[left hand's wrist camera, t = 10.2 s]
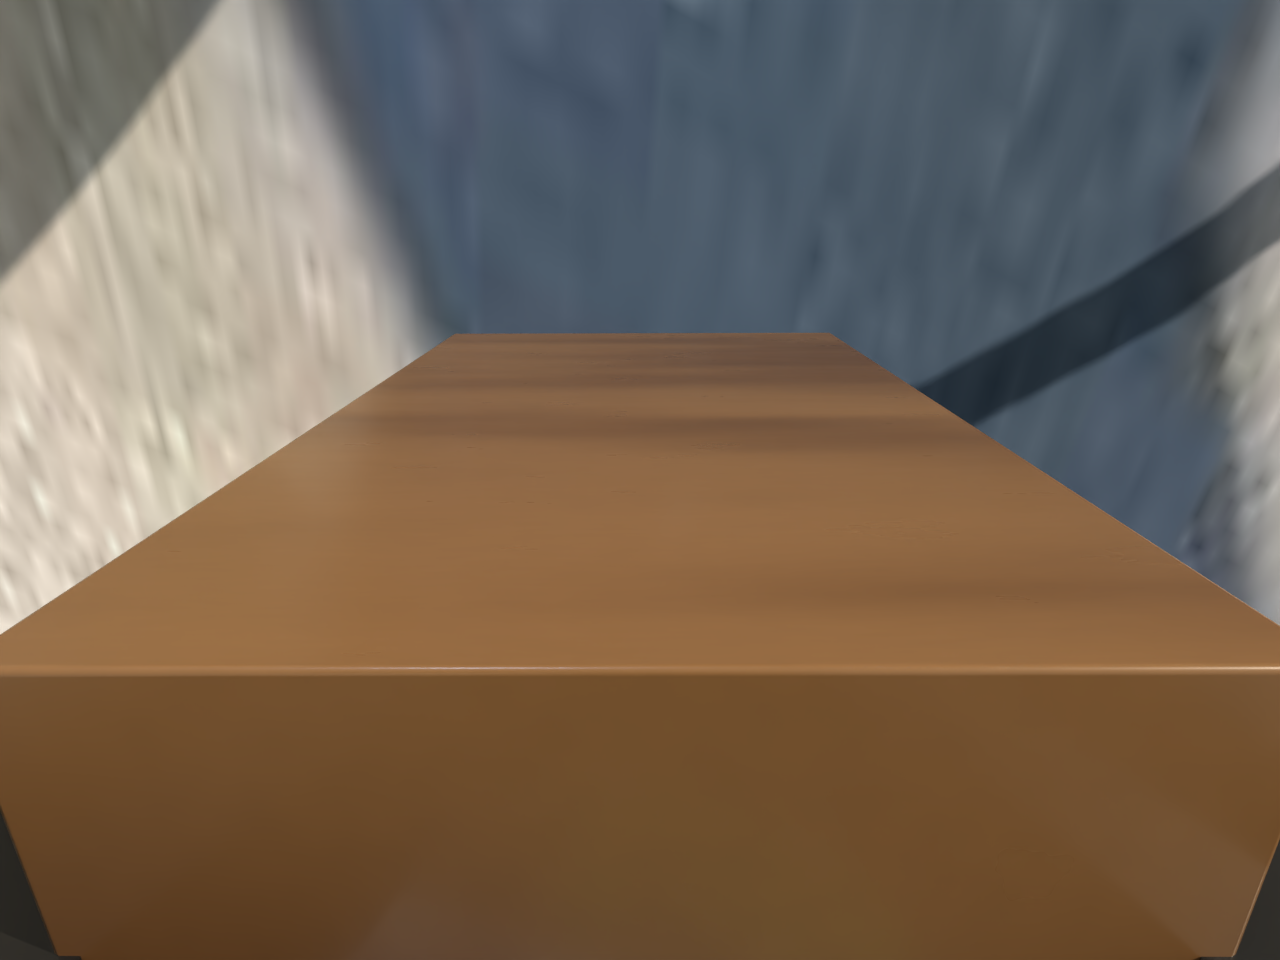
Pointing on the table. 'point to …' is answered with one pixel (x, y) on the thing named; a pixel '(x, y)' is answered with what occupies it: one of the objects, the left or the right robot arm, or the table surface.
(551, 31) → the table surface
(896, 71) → the table surface
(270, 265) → the table surface
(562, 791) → the box
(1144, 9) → the table surface
